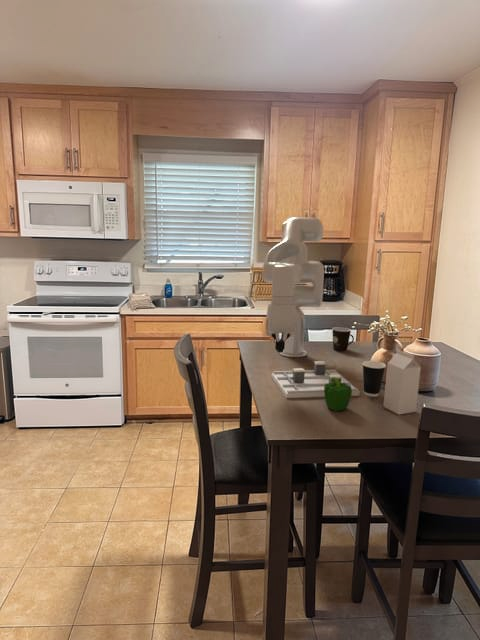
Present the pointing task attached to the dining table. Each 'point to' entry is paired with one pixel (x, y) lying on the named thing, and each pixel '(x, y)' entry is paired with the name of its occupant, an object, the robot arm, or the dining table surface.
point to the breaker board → (306, 384)
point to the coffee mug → (341, 338)
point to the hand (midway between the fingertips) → (279, 351)
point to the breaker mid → (298, 375)
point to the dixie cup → (372, 377)
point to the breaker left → (319, 367)
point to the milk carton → (402, 383)
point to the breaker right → (336, 377)
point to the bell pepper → (337, 395)
